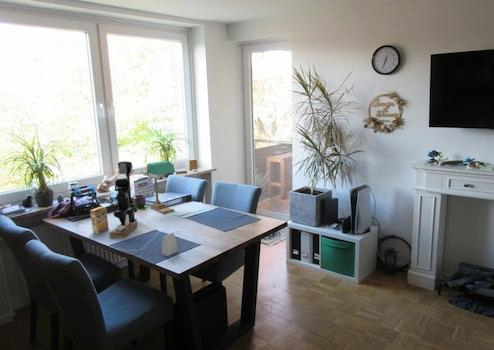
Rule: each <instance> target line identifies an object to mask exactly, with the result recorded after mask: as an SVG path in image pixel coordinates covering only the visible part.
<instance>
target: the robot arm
mask: <svg viewBox="0 0 494 350" xmlns="http://www.w3.org/2000/svg"><path fill="white" fill-rule="evenodd" d="M117 169H118V170H119V171H118V175H117V176H116V177H115V178H116V179H115V180H114V191H115V192H117V195H116V197H115V199H116V202H117V203H112V204H110V205H109V210H110V211H111V212H113V211H114V212H113V216H114V217H115V218H118V220H119V222H120V224H122V225H123V226H124V225H125V220H126V216H127V215H129V223H135V222H136V221H137V220H138V219H137V218H136V217H135V213H137V212H138V207H137V204H136V203H135V201H134V199H133V198H132V190H131V179H130V175H131V173H132V169H133V163H132V161H127V160H121V161H119V162H118V163H117ZM115 210H116V211H115Z"/></svg>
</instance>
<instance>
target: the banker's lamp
mask: <svg viewBox="0 0 494 350" xmlns="http://www.w3.org/2000/svg"><path fill="white" fill-rule="evenodd" d="M146 173H147V174H146V176H147V177H148V178H151V179H152V178H153V179H154V182H153V183H154V193H155V200H154V202H153V203H152V204H151V206H150V209H151V210H153V211H155V212H158V213H161V214H163V215H164V214H170V213H173V212H175V208H171V207H169V206H167V205H166V204H165V203H162V201H161V200H160V199H159V193H158V192H159V191H158V178H160V177H163V176H166V175H167V174H174V173H176V170H175V168H174V165H173V164H172V162H171V161H169V160H161V161H154V162H148V163H147V164H146ZM149 174H150V175H149ZM151 175H154V176H151Z"/></svg>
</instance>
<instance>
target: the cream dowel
mask: <svg viewBox="0 0 494 350" xmlns="http://www.w3.org/2000/svg"><path fill="white" fill-rule="evenodd" d="M124 226H129V215H127V216H126V220H125V225H124Z"/></svg>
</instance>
